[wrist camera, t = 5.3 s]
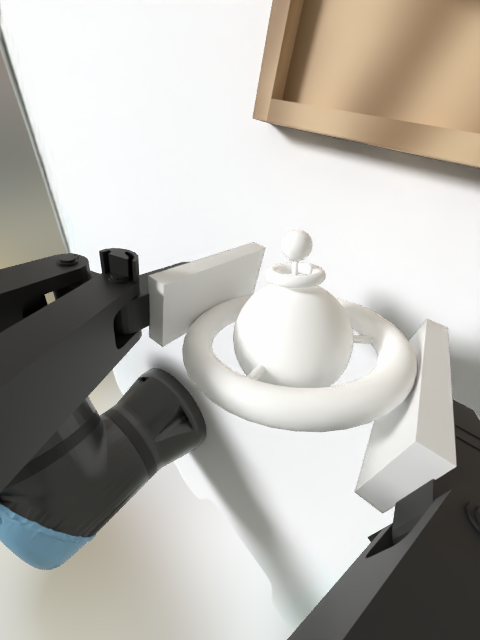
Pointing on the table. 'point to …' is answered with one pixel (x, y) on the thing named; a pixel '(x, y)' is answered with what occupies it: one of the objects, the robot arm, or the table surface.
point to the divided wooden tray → (377, 74)
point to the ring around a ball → (299, 353)
